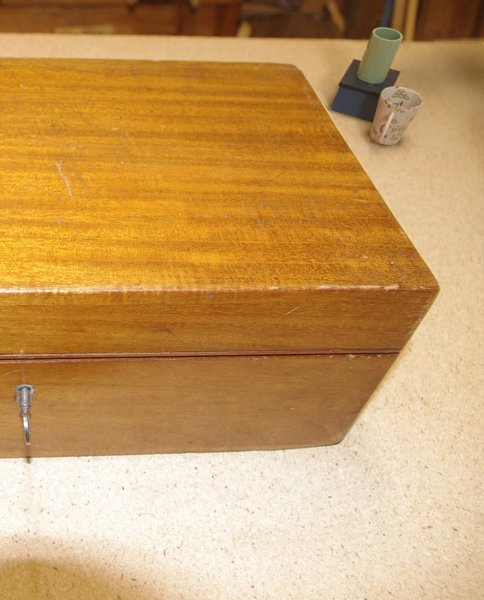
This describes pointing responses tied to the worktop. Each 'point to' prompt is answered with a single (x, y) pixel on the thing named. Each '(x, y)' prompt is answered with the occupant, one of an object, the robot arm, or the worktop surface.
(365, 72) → the cup
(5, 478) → the worktop surface
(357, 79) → the container
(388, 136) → the mug
